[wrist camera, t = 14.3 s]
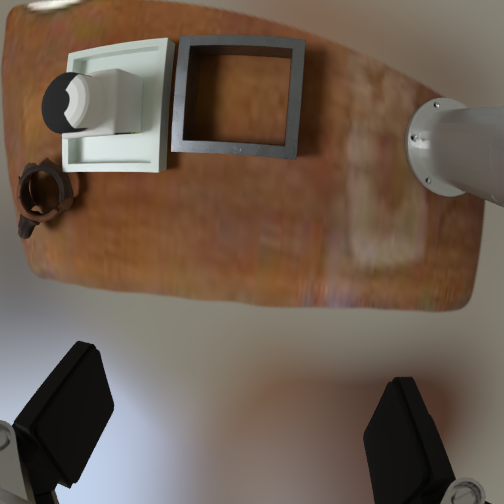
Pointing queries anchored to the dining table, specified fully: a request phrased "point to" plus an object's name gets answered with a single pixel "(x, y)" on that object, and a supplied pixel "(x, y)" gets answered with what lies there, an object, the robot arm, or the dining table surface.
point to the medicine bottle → (94, 104)
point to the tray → (153, 110)
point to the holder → (234, 46)
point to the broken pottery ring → (27, 203)
